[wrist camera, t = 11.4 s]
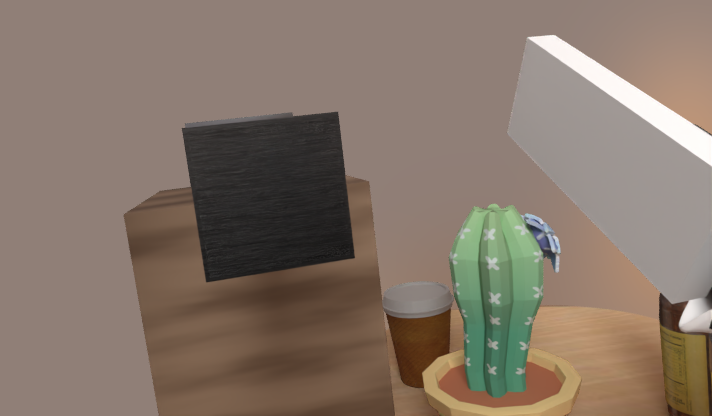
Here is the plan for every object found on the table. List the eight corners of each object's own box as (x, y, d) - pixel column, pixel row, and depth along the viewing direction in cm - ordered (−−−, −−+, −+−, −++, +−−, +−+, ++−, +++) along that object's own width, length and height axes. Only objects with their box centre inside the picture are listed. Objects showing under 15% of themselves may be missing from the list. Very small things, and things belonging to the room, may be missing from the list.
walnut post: (411, 569, 42) (360, 102, 37) (196, 632, 38) (108, 128, 33) (358, 444, 59) (319, 116, 54) (207, 479, 56) (151, 134, 51)
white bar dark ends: (355, 258, 14) (338, 111, 13) (206, 282, 13) (182, 128, 13) (275, 185, 39) (268, 133, 39) (223, 191, 38) (215, 139, 38)
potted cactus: (594, 509, 46) (577, 217, 42) (414, 490, 51) (386, 227, 47) (580, 413, 60) (566, 190, 57) (440, 406, 65) (421, 200, 62)
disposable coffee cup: (375, 382, 73) (365, 296, 71) (418, 356, 80) (409, 277, 78) (433, 401, 66) (423, 307, 65) (474, 371, 73) (467, 284, 71)
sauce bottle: (722, 402, 59) (718, 223, 56) (747, 434, 53) (744, 236, 50) (655, 401, 61) (648, 227, 58) (672, 432, 55) (665, 240, 52)
